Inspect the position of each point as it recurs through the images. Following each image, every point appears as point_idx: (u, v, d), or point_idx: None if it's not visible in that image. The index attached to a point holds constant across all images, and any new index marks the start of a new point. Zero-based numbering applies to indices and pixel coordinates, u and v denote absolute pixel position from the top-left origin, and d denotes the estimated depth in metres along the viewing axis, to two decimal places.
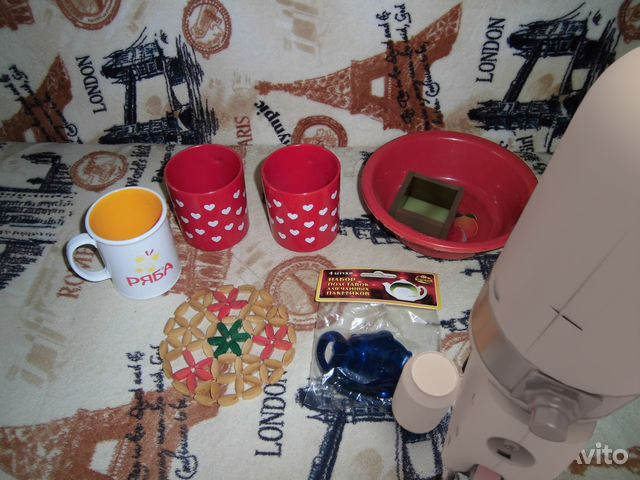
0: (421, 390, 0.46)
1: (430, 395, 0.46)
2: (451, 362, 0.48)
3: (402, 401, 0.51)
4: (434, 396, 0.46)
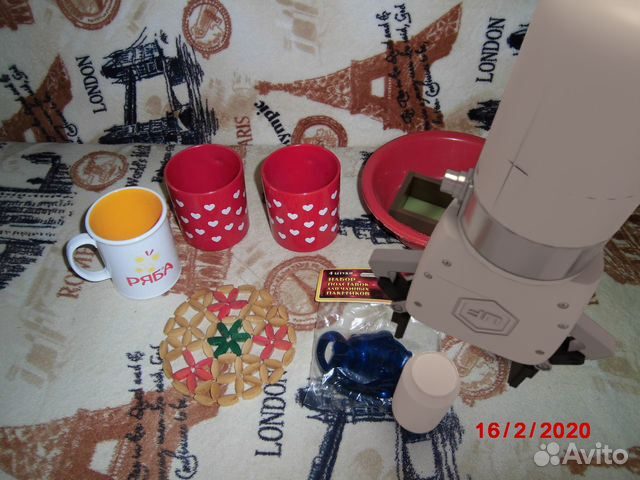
0: (421, 390, 0.46)
1: (430, 395, 0.46)
2: (451, 362, 0.48)
3: (402, 401, 0.51)
4: (434, 396, 0.46)
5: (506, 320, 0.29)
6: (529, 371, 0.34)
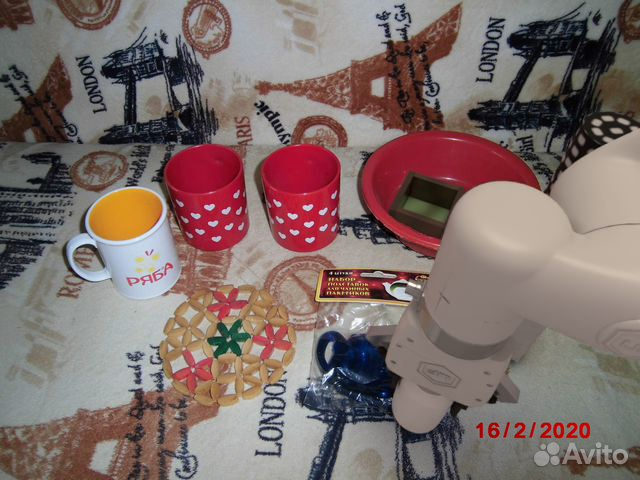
0: (421, 390, 0.46)
1: (429, 395, 0.46)
2: None
3: (402, 401, 0.51)
4: (434, 396, 0.46)
5: (453, 378, 0.41)
6: (461, 406, 0.47)
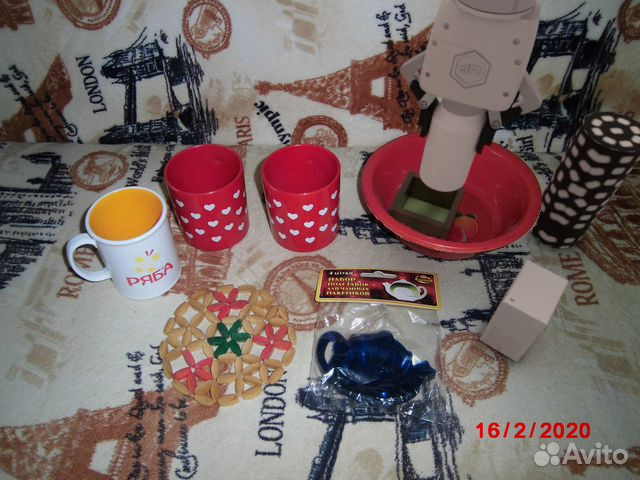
0: (451, 114, 0.51)
1: (459, 117, 0.51)
2: None
3: (431, 146, 0.55)
4: (463, 118, 0.51)
5: (484, 68, 0.45)
6: (487, 130, 0.51)
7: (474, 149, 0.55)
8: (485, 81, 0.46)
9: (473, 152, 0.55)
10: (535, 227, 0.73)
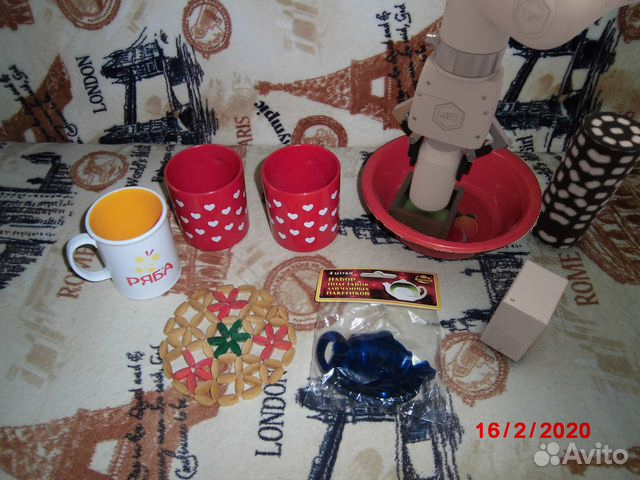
0: (434, 149, 0.61)
1: (441, 152, 0.61)
2: None
3: (419, 174, 0.66)
4: (444, 153, 0.61)
5: (459, 116, 0.56)
6: (464, 163, 0.62)
7: (454, 177, 0.65)
8: (461, 126, 0.57)
9: (454, 179, 0.65)
10: (535, 227, 0.73)
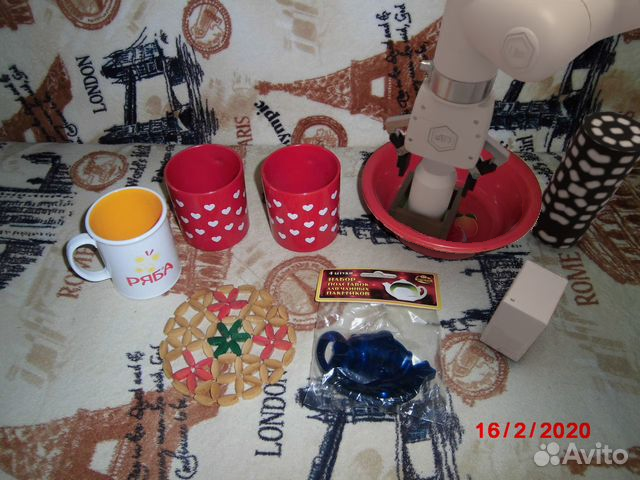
0: (429, 173, 0.65)
1: (435, 176, 0.65)
2: None
3: (414, 195, 0.69)
4: (438, 177, 0.65)
5: (453, 138, 0.58)
6: (470, 180, 0.63)
7: (448, 199, 0.68)
8: (454, 147, 0.59)
9: (447, 201, 0.69)
10: (535, 227, 0.73)
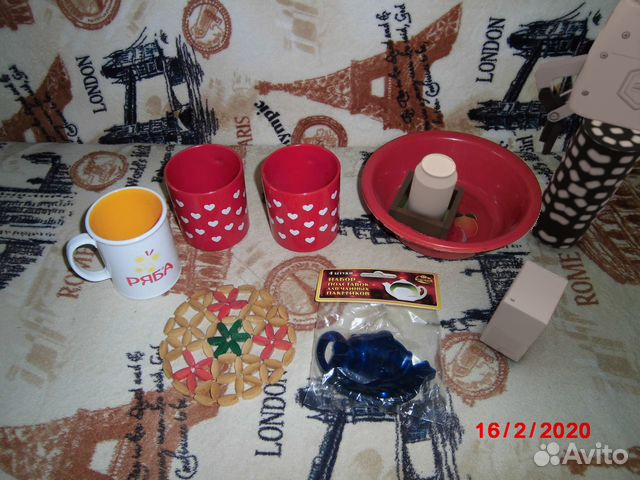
0: (429, 174, 0.65)
1: (435, 176, 0.65)
2: (450, 159, 0.67)
3: (414, 195, 0.69)
4: (438, 177, 0.65)
5: None
6: None
7: (448, 199, 0.68)
8: None
9: (447, 201, 0.69)
10: (535, 227, 0.73)
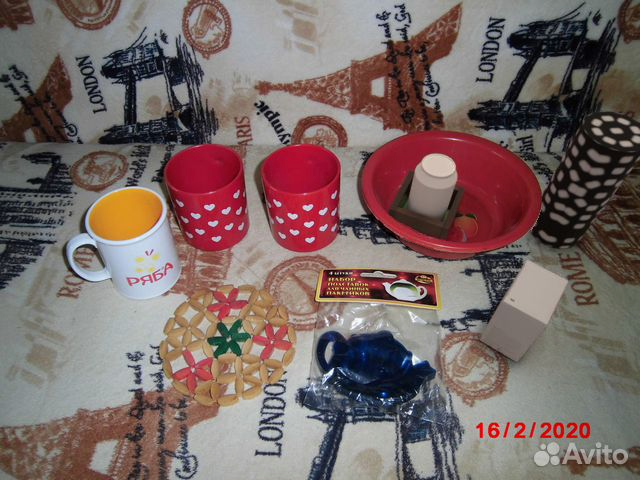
0: (429, 174, 0.65)
1: (435, 176, 0.65)
2: (450, 159, 0.67)
3: (414, 195, 0.69)
4: (438, 177, 0.65)
5: None
6: None
7: (448, 199, 0.68)
8: None
9: (447, 201, 0.69)
10: (535, 227, 0.73)
